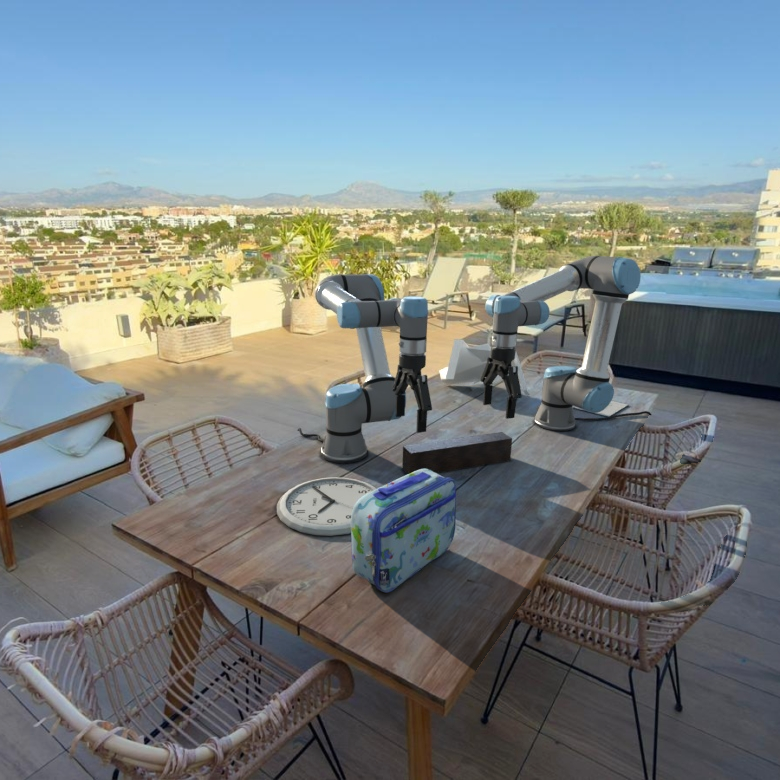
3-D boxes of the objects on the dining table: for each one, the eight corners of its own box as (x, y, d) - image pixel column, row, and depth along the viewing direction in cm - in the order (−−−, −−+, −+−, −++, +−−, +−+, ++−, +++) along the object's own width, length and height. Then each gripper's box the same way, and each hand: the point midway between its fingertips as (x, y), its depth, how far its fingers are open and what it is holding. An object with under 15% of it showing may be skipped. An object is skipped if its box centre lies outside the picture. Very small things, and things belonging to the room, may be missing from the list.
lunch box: (379, 605, 105) (380, 513, 99) (344, 580, 112) (343, 493, 106) (459, 552, 123) (464, 471, 116) (425, 533, 130) (428, 456, 124)
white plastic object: (461, 429, 252) (437, 405, 227) (444, 352, 274) (420, 323, 250) (535, 404, 240) (518, 377, 215) (510, 326, 262) (492, 293, 237)
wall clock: (392, 527, 129) (268, 531, 127) (391, 533, 130) (269, 537, 127) (383, 473, 158) (282, 475, 155) (383, 478, 158) (282, 480, 156)
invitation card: (608, 416, 214) (573, 407, 224) (608, 416, 214) (573, 408, 224) (628, 404, 229) (594, 396, 238) (628, 405, 229) (594, 397, 238)
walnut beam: (500, 453, 177) (502, 431, 175) (510, 460, 172) (512, 438, 170) (402, 469, 165) (402, 445, 163) (409, 477, 160) (410, 453, 157)
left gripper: (382, 344, 156) (381, 411, 162) (421, 365, 134) (419, 441, 141) (404, 342, 159) (402, 408, 165) (447, 362, 137) (443, 437, 144)
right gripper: (473, 339, 172) (468, 400, 178) (516, 356, 150) (509, 425, 156) (492, 338, 175) (488, 398, 181) (538, 354, 152) (530, 422, 159)
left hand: (410, 423), depth 153 cm, fingers open, 13 cm apart
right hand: (498, 411), depth 169 cm, fingers open, 13 cm apart
